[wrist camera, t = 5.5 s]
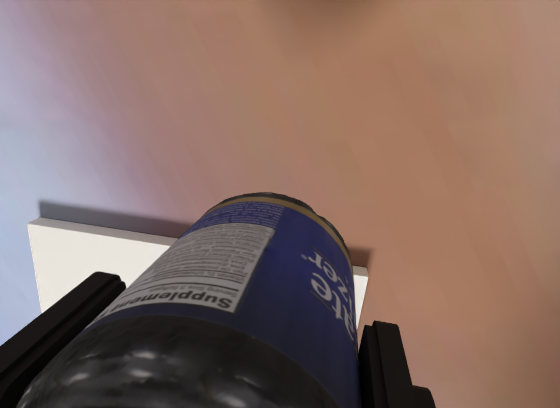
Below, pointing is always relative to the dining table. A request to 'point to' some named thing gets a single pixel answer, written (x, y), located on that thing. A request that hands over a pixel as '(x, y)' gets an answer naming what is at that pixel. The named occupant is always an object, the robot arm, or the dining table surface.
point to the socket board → (105, 257)
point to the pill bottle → (223, 321)
